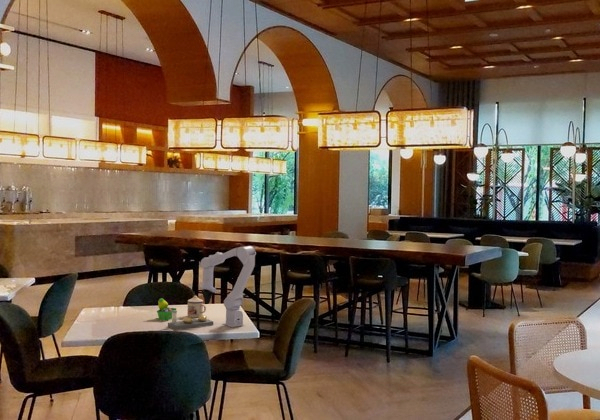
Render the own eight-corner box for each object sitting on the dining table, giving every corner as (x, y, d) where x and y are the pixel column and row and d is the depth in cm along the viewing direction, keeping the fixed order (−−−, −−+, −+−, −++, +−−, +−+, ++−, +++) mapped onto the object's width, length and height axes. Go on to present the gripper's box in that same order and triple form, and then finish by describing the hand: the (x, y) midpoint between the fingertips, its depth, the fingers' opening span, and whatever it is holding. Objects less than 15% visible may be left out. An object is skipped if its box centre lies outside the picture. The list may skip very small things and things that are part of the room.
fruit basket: (168, 321, 367) (169, 300, 366) (153, 320, 368) (154, 299, 368) (176, 317, 378) (177, 297, 377) (162, 316, 379) (162, 296, 379)
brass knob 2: (207, 324, 359) (208, 316, 359) (200, 325, 356) (201, 317, 356) (203, 323, 362) (203, 315, 362) (196, 324, 360) (196, 316, 359)
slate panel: (213, 325, 359) (213, 321, 359) (177, 329, 345) (177, 326, 345) (203, 321, 367) (203, 318, 367) (167, 326, 353) (167, 322, 353)
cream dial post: (177, 323, 351) (178, 310, 351) (173, 324, 350) (173, 311, 349) (175, 322, 354) (175, 310, 353) (170, 323, 352) (170, 310, 352)
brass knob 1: (193, 326, 353) (193, 318, 353) (186, 327, 350) (186, 319, 350) (189, 325, 357) (189, 316, 357) (181, 326, 354) (182, 317, 354)
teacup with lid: (183, 316, 380) (184, 296, 380) (193, 314, 388) (194, 294, 388) (200, 319, 375) (201, 298, 374) (210, 316, 383) (210, 296, 382)
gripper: (194, 277, 371) (193, 302, 371) (208, 281, 360) (208, 306, 360) (205, 276, 376) (204, 300, 376) (219, 280, 365) (219, 304, 365)
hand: (207, 303), depth 369 cm, fingers closed
